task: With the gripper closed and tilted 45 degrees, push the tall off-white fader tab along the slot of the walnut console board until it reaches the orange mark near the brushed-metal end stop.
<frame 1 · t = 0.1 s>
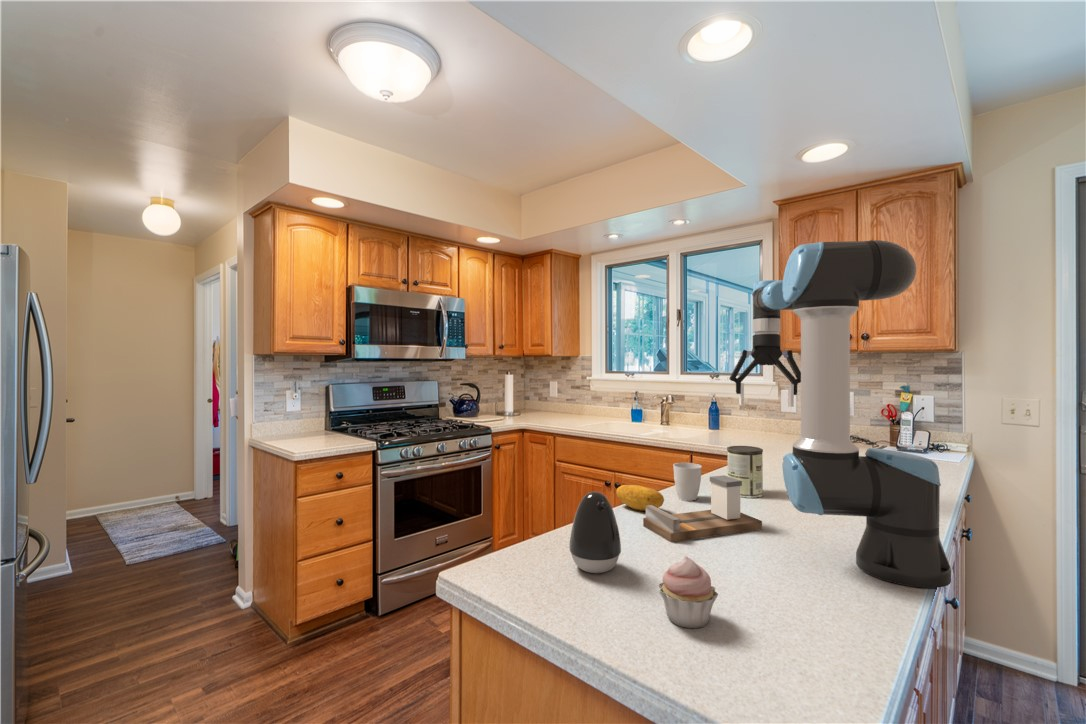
hand: (766, 405, 149), 28 cm above the worktop, tool pointing down, fingers open, 13 cm apart
console board: (702, 527, 125), on the worktop
fader tab: (725, 497, 127), point 7 cm above the worktop, slide at 0.0 cm
potato: (639, 510, 140), on the worktop
coffee can: (744, 494, 156), on the worktop
dark egg-shaped tumbler: (595, 569, 100), on the worktop
cup: (687, 499, 150), on the worktop
cupcake: (686, 619, 81), on the worktop
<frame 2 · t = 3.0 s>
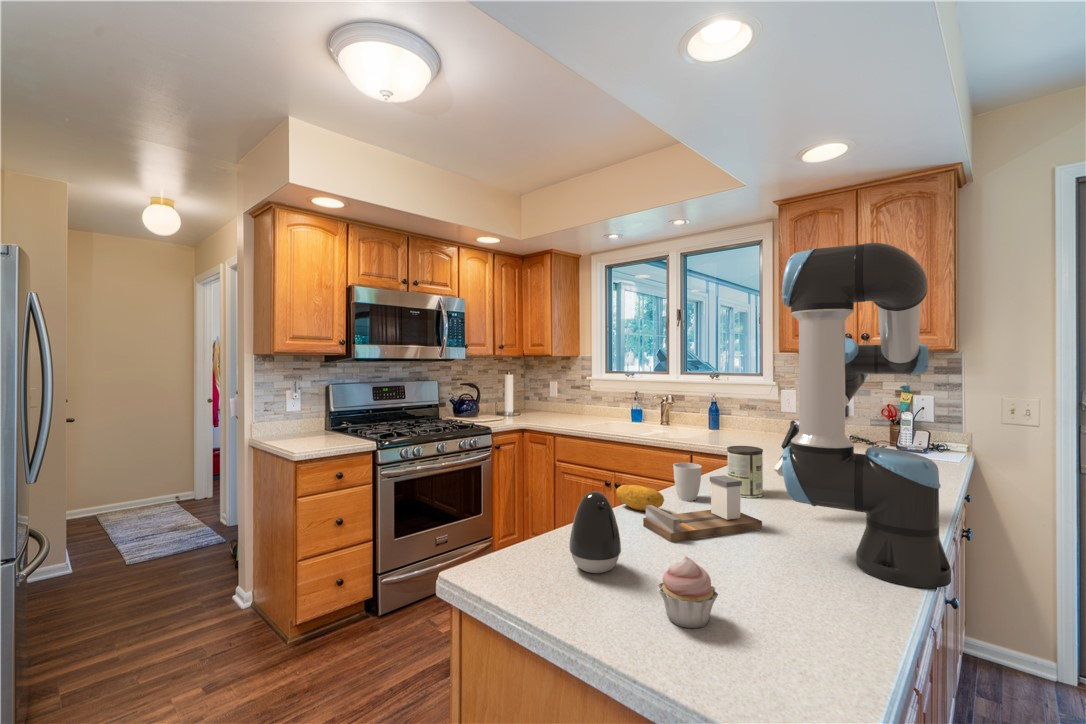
hand: (778, 472, 134), 12 cm above the worktop, tool tilted 45°, fingers closed
nothing on the worktop moved.
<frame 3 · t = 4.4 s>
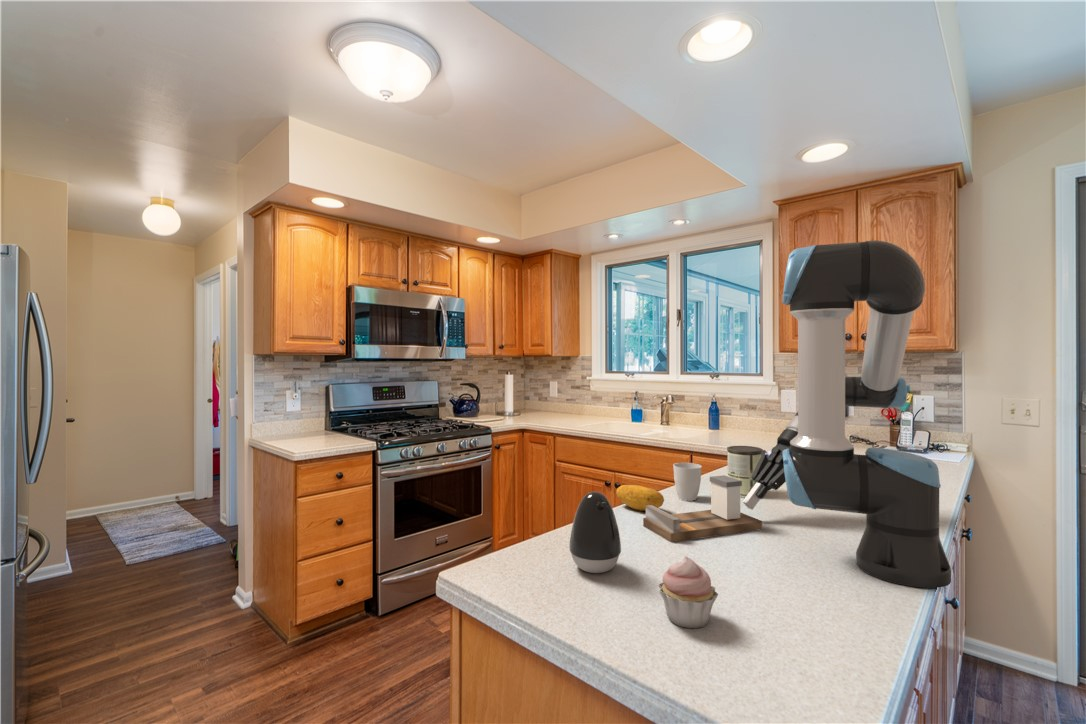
hand: (747, 505, 129), 4 cm above the worktop, tool tilted 45°, fingers closed
nothing on the worktop moved.
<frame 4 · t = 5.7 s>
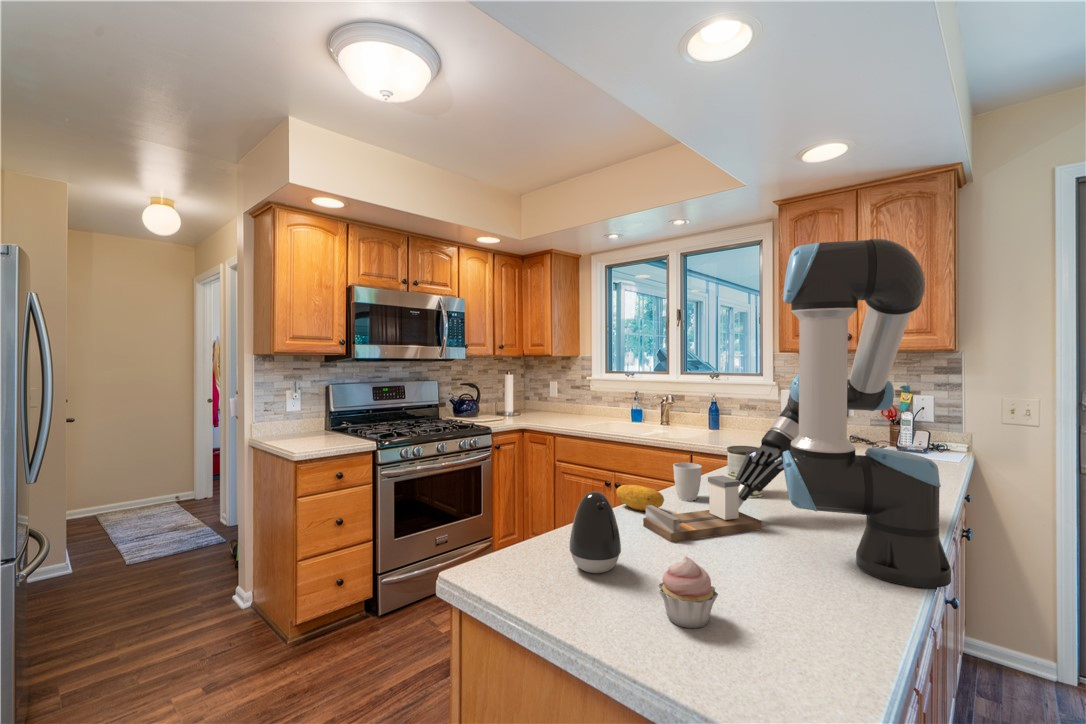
hand: (731, 507, 129), 4 cm above the worktop, tool tilted 45°, fingers closed
fader tab: (723, 497, 127), point 7 cm above the worktop, slide at 0.6 cm, touching gripper
everything else where it was.
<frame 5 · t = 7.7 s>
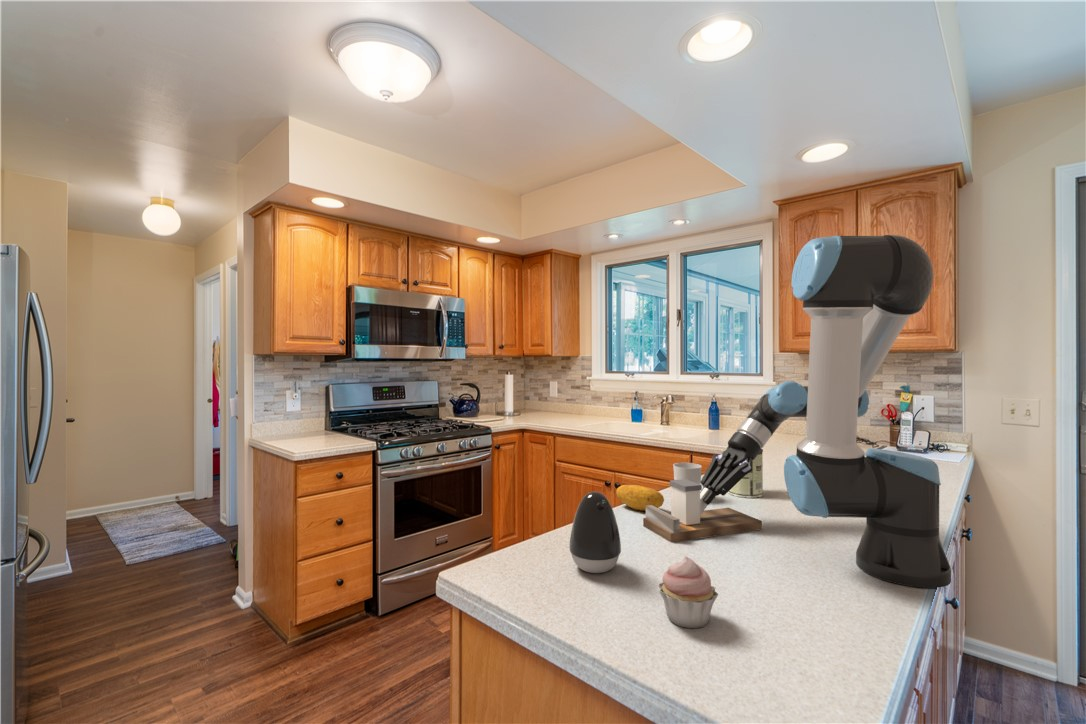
hand: (694, 511, 125), 4 cm above the worktop, tool tilted 45°, fingers closed
fader tab: (685, 501, 123), point 7 cm above the worktop, slide at 11.9 cm, touching gripper
everything else where it was.
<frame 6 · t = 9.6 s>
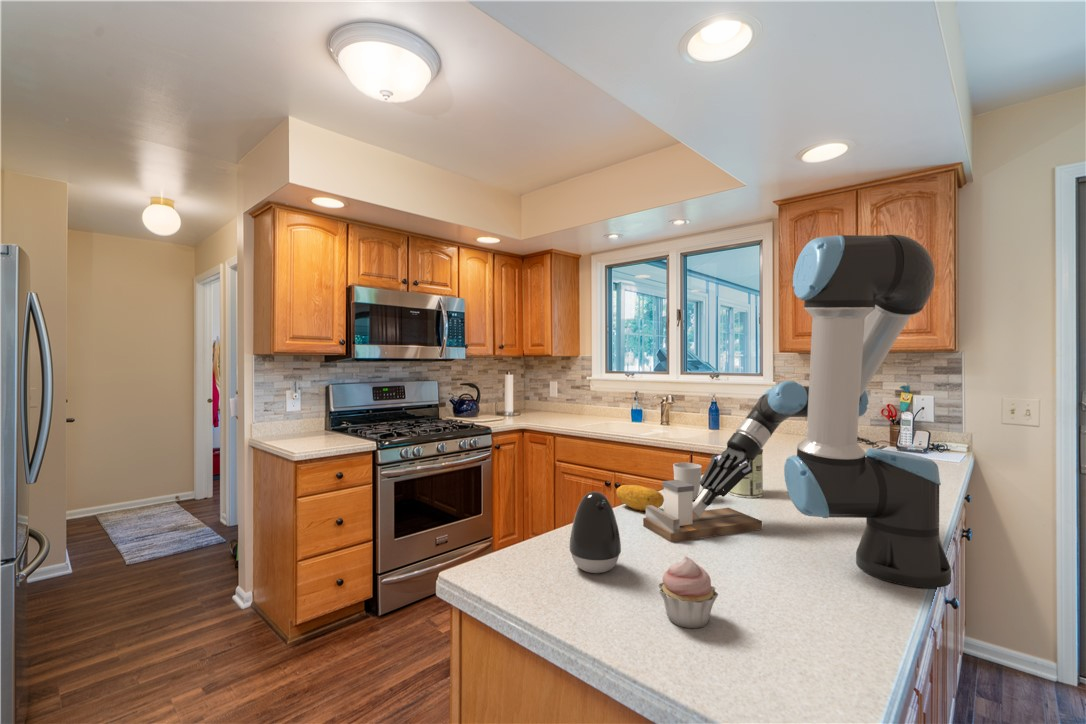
hand: (694, 513, 124), 4 cm above the worktop, tool tilted 45°, fingers closed
fader tab: (677, 502, 122), point 7 cm above the worktop, slide at 14.0 cm
everything else where it was.
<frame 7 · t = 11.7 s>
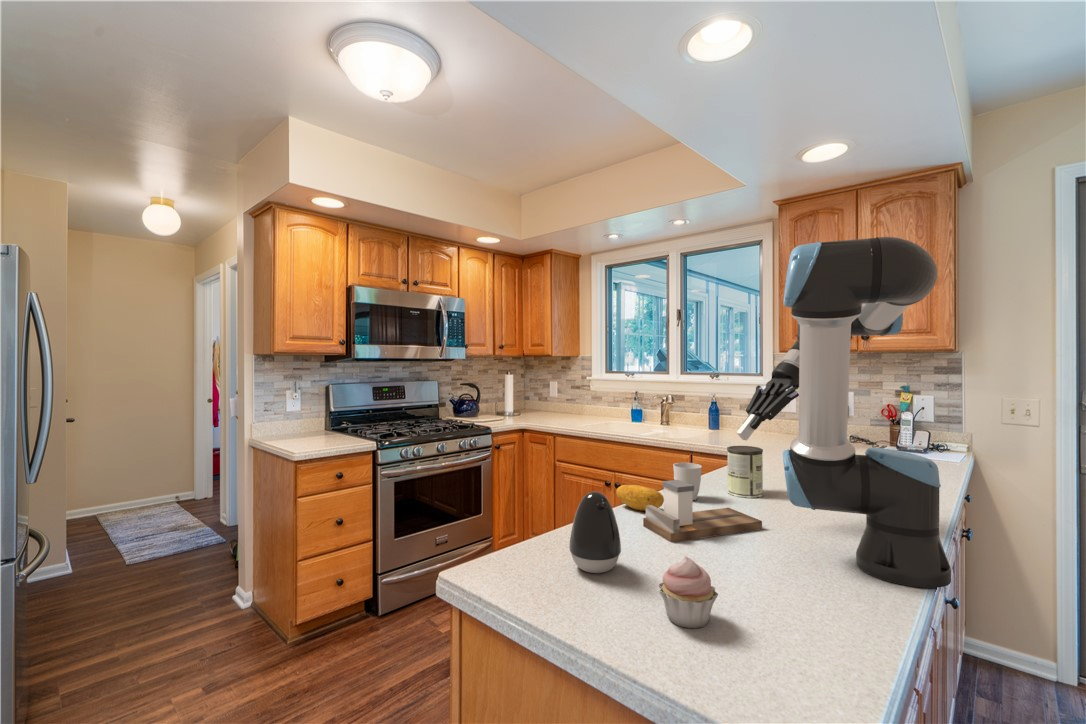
hand: (741, 436, 129), 22 cm above the worktop, tool tilted 45°, fingers closed
nothing on the worktop moved.
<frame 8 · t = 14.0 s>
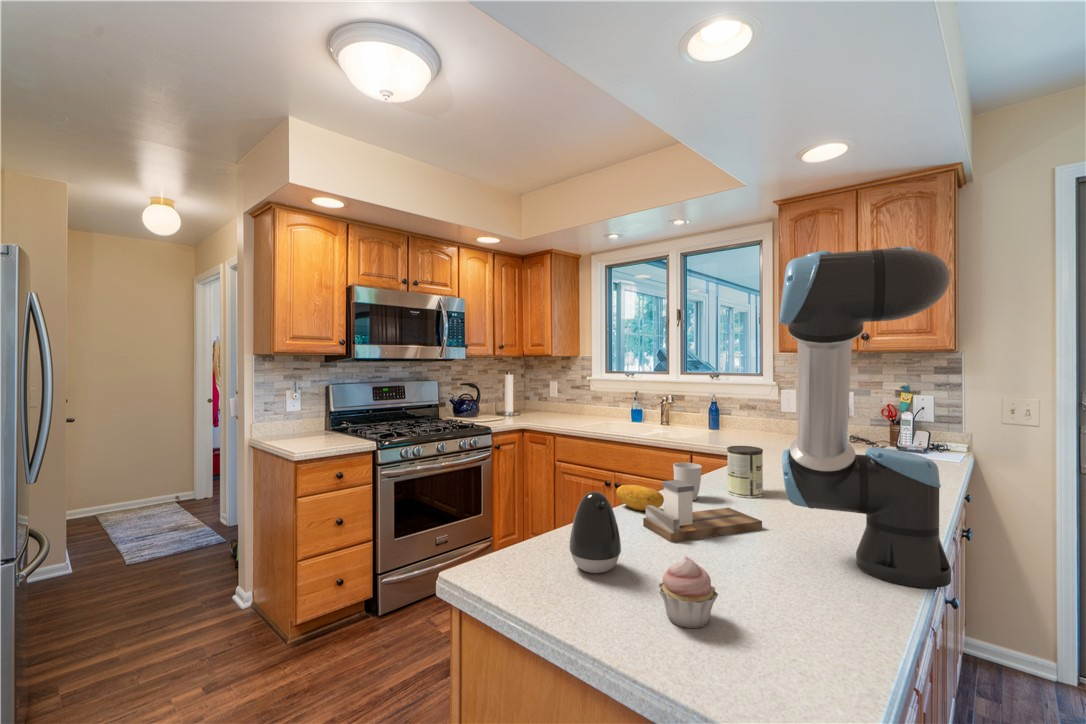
hand: (819, 406, 129), 29 cm above the worktop, tool pointing down, fingers closed
nothing on the worktop moved.
at the end: fader tab slide at 14.0 cm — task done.
